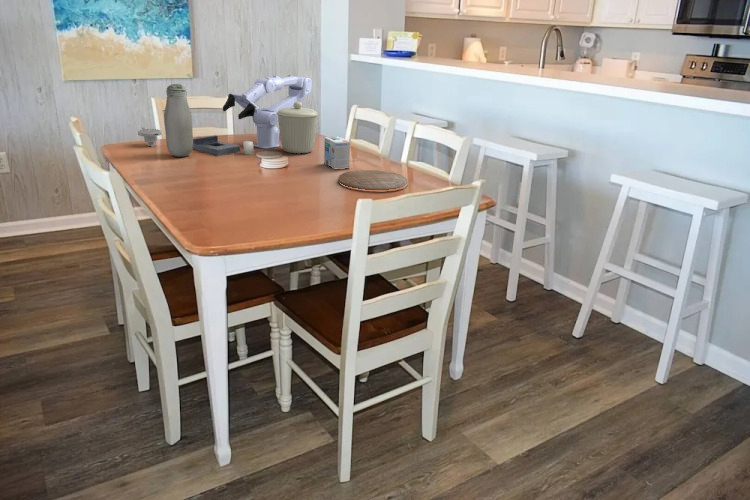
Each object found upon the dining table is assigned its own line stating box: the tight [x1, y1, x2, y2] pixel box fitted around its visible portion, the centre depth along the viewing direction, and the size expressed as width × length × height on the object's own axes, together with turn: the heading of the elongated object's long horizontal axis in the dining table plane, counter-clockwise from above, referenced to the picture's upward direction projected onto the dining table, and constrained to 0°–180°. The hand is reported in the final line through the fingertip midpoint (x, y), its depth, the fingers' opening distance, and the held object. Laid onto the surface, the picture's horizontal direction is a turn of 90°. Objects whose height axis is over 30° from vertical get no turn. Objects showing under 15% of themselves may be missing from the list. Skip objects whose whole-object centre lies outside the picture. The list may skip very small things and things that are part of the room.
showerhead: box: [137, 126, 163, 147], centre depth 244 cm, size 9×7×10 cm
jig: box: [192, 134, 242, 157], centre depth 243 cm, size 12×16×4 cm
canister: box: [276, 102, 320, 155], centre depth 246 cm, size 18×18×21 cm
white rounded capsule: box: [242, 140, 254, 156], centre depth 240 cm, size 4×4×5 cm
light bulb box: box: [323, 136, 351, 168], centre depth 226 cm, size 11×7×11 cm, turn 27°
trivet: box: [337, 169, 409, 190], centre depth 207 cm, size 25×25×2 cm
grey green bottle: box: [163, 83, 194, 158], centre depth 226 cm, size 10×10×28 cm
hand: (231, 113), depth 233 cm, fingers open, 7 cm apart
